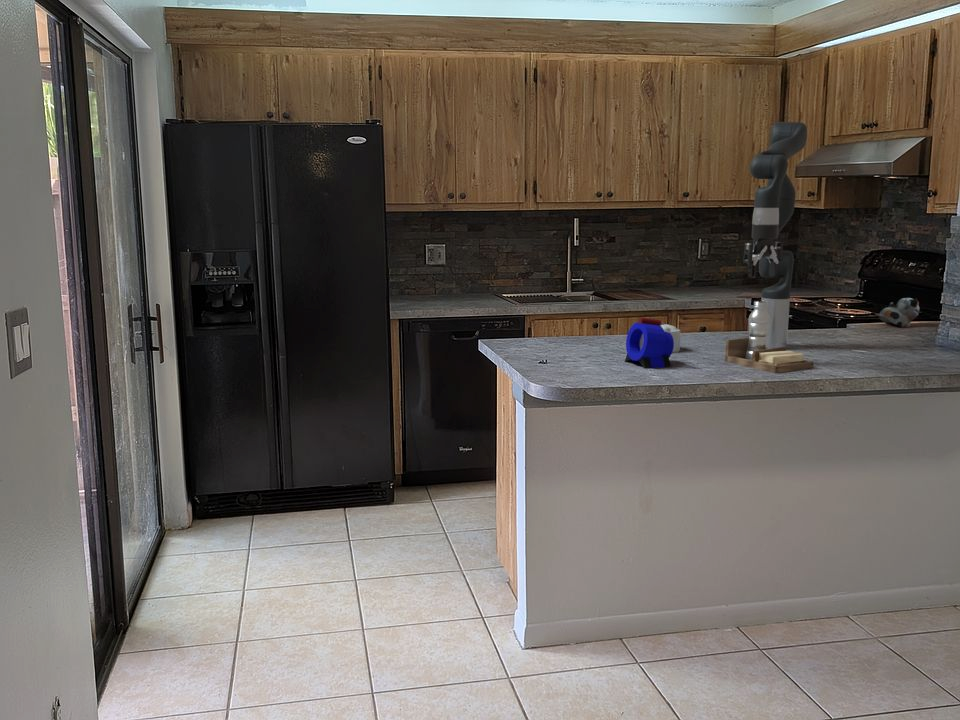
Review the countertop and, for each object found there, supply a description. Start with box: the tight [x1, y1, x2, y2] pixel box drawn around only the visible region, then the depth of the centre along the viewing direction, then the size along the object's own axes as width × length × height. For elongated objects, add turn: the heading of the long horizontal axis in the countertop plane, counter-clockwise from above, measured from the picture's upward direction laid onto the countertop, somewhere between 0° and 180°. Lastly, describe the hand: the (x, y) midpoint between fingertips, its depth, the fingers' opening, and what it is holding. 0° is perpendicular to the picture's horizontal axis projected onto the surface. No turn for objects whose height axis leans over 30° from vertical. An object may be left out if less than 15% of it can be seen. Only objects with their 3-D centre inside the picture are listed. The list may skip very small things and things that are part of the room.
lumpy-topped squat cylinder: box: [660, 323, 681, 353], centre depth 298 cm, size 10×13×9 cm
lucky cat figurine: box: [877, 297, 920, 329], centre depth 352 cm, size 15×12×14 cm
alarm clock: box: [624, 316, 674, 370], centre depth 274 cm, size 12×12×15 cm
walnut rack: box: [724, 336, 814, 374], centre depth 268 cm, size 20×16×8 cm
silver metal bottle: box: [746, 300, 770, 360], centre depth 271 cm, size 6×7×20 cm
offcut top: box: [759, 350, 805, 363], centre depth 264 cm, size 6×11×2 cm, turn 111°
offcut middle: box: [759, 360, 801, 366], centre depth 265 cm, size 6×11×2 cm, turn 122°
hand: (762, 276), depth 268 cm, fingers open, 8 cm apart
